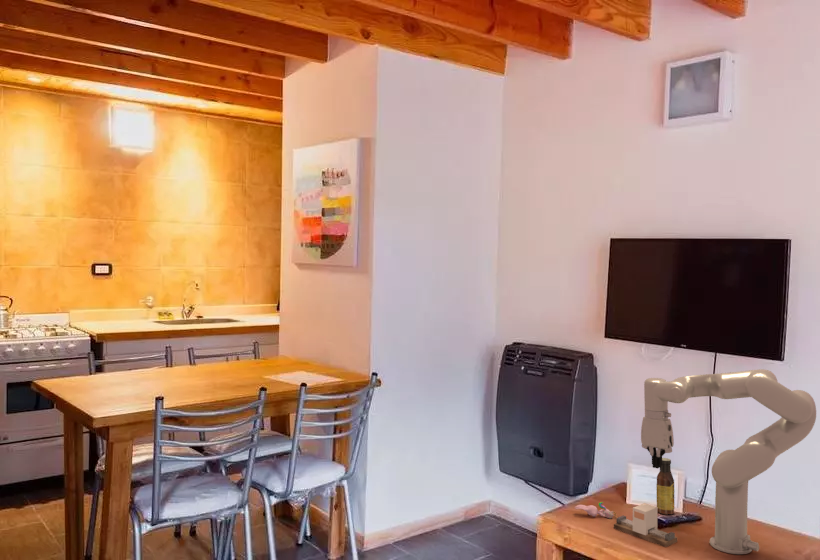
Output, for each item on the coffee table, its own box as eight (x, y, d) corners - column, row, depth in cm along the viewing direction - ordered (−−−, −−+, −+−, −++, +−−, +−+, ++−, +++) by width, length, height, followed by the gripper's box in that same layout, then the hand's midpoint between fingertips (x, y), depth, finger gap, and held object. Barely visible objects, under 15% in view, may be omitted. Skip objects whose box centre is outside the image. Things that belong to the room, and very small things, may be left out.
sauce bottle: (676, 515, 249) (677, 462, 249) (659, 515, 249) (660, 462, 249) (670, 509, 256) (670, 456, 255) (653, 508, 256) (654, 456, 255)
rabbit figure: (614, 518, 250) (573, 509, 253) (617, 502, 250) (576, 493, 252) (616, 524, 244) (574, 515, 247) (619, 508, 244) (577, 499, 246)
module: (657, 530, 232) (657, 507, 232) (645, 535, 227) (645, 512, 227) (644, 525, 236) (644, 503, 236) (632, 530, 231) (632, 507, 231)
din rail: (674, 538, 225) (674, 532, 225) (668, 541, 223) (668, 536, 223) (623, 520, 241) (623, 515, 241) (616, 523, 238) (616, 518, 238)
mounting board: (677, 541, 226) (677, 537, 226) (665, 547, 222) (666, 542, 222) (625, 523, 242) (625, 519, 242) (613, 528, 237) (613, 524, 237)
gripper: (682, 415, 231) (683, 469, 231) (642, 409, 242) (642, 460, 242) (671, 419, 226) (672, 474, 226) (630, 413, 237) (631, 465, 237)
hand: (657, 467), depth 234 cm, fingers closed
